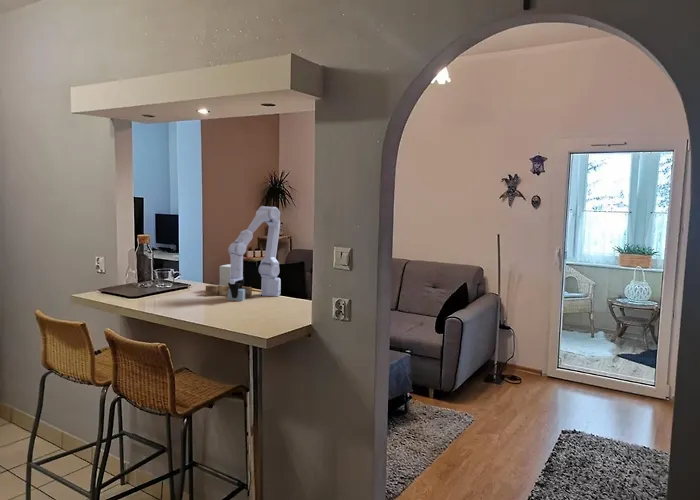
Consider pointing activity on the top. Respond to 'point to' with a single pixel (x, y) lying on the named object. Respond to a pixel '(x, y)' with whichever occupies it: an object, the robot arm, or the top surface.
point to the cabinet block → (239, 298)
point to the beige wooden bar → (224, 290)
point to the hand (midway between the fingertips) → (236, 296)
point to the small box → (224, 275)
